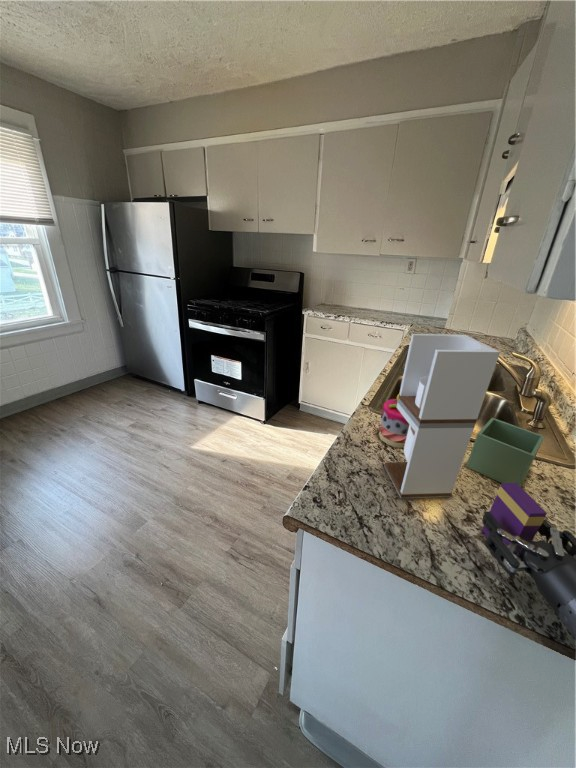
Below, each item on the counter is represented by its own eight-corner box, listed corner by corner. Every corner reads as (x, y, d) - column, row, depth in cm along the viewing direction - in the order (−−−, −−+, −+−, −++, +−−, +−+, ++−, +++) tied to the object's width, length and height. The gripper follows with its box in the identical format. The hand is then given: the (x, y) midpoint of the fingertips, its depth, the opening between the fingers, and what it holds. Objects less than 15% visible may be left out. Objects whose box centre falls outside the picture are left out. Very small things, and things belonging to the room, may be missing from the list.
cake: (371, 430, 94) (379, 386, 88) (403, 428, 96) (413, 384, 89) (387, 452, 85) (397, 404, 78) (422, 449, 87) (435, 401, 80)
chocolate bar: (494, 532, 63) (516, 482, 57) (519, 565, 56) (547, 513, 51) (480, 532, 62) (501, 482, 57) (504, 566, 56) (530, 513, 50)
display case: (427, 468, 80) (465, 334, 65) (449, 499, 70) (500, 351, 55) (383, 468, 79) (411, 333, 64) (400, 501, 69) (438, 351, 54)
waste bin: (528, 471, 80) (544, 436, 75) (517, 493, 72) (534, 456, 68) (479, 450, 87) (491, 417, 82) (465, 469, 80) (477, 433, 75)
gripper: (652, 592, 41) (552, 498, 56) (550, 595, 41) (476, 500, 55) (624, 624, 45) (537, 528, 59) (529, 628, 44) (464, 529, 58)
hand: (507, 514), depth 57 cm, fingers open, 8 cm apart
